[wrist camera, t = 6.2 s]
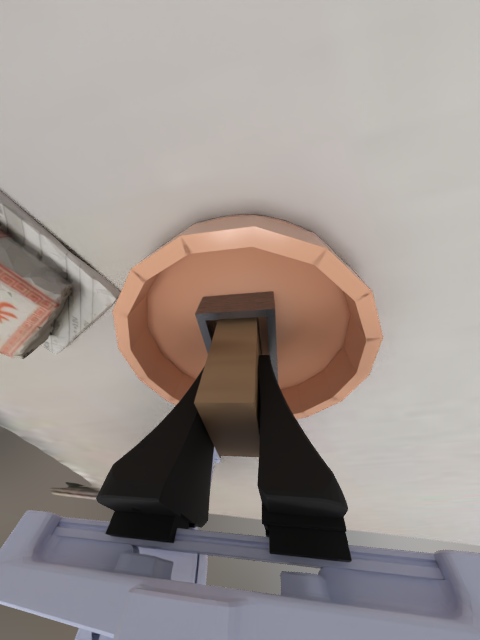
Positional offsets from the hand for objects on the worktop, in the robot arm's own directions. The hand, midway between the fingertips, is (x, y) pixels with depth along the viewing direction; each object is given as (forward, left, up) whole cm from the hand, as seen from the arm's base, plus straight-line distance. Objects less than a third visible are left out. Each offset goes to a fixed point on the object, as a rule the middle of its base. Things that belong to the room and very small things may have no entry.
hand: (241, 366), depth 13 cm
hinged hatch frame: (0, 0, -3) cm, 3 cm away
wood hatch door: (0, 0, -3) cm, 3 cm away
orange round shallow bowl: (0, 0, -4) cm, 4 cm away
